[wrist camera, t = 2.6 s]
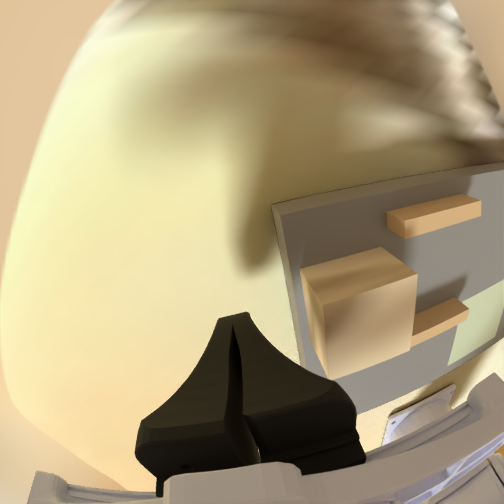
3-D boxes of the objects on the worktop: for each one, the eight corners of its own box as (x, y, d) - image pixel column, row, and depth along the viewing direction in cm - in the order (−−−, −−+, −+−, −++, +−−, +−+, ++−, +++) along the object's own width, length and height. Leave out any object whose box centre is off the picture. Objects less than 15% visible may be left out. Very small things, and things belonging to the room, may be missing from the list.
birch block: (381, 316, 14) (409, 350, 11) (310, 339, 14) (329, 381, 11) (380, 246, 13) (417, 273, 10) (299, 268, 13) (322, 304, 10)
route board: (511, 312, 20) (533, 329, 17) (307, 408, 19) (320, 445, 16) (530, 158, 14) (561, 166, 11) (270, 204, 13) (289, 225, 10)
